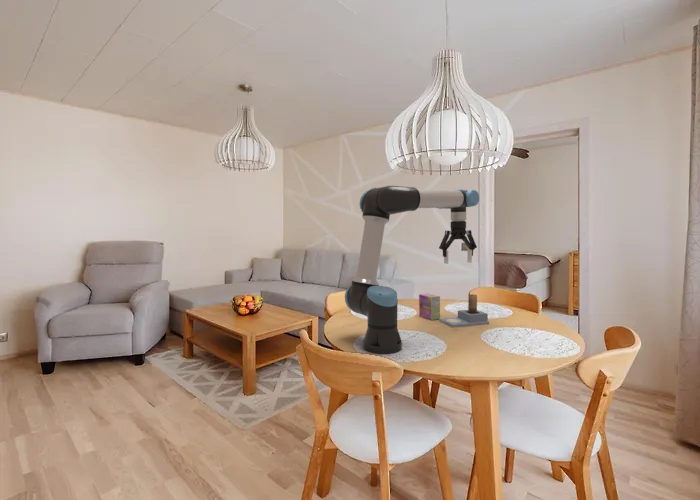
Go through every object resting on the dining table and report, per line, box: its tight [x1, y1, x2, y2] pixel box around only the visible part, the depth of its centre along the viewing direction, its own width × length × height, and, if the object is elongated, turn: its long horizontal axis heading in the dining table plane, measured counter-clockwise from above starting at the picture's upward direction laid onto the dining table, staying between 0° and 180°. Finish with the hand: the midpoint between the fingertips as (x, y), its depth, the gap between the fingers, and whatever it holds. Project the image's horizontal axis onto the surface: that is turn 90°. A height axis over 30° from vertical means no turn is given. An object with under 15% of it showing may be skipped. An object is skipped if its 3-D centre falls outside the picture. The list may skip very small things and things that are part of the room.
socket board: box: [438, 309, 490, 328], centre depth 171 cm, size 12×20×5 cm, turn 106°
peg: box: [467, 294, 478, 314], centre depth 172 cm, size 4×4×12 cm
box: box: [418, 292, 441, 321], centre depth 181 cm, size 10×6×12 cm, turn 25°
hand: (457, 262), depth 176 cm, fingers open, 13 cm apart
